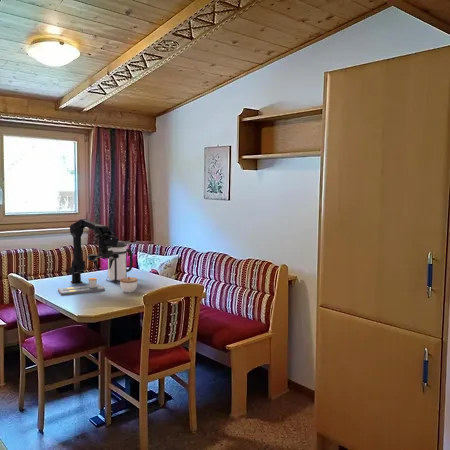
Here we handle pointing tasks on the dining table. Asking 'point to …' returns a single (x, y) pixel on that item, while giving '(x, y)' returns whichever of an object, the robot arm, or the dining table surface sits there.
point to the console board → (80, 290)
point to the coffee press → (119, 262)
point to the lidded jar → (128, 284)
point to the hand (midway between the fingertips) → (103, 269)
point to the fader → (92, 282)
